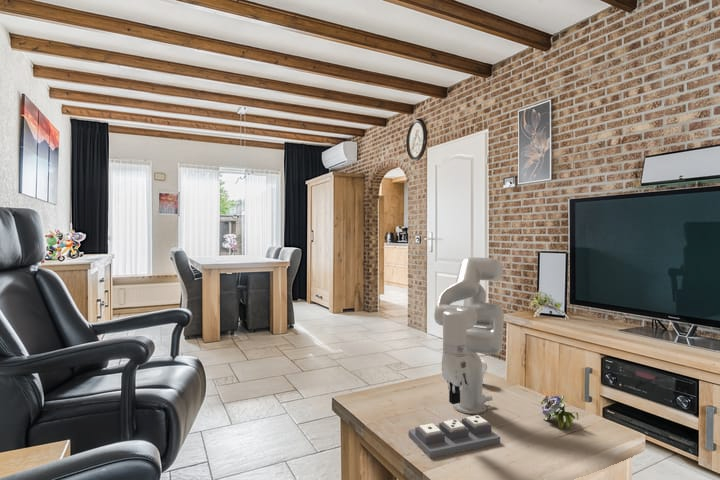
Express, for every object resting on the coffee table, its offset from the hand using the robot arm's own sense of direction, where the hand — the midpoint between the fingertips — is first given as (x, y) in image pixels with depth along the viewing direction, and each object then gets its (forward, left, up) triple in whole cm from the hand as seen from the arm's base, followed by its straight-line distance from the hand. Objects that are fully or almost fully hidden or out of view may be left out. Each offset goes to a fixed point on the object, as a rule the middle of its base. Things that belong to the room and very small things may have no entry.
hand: (454, 402), depth 131 cm
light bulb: (-39, -38, -12) cm, 56 cm away
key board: (+1, +1, -12) cm, 12 cm away
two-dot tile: (-8, +1, -9) cm, 13 cm away
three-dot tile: (+1, +1, -10) cm, 10 cm away
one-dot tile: (+10, +1, -10) cm, 14 cm away
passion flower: (-42, +3, -12) cm, 44 cm away
